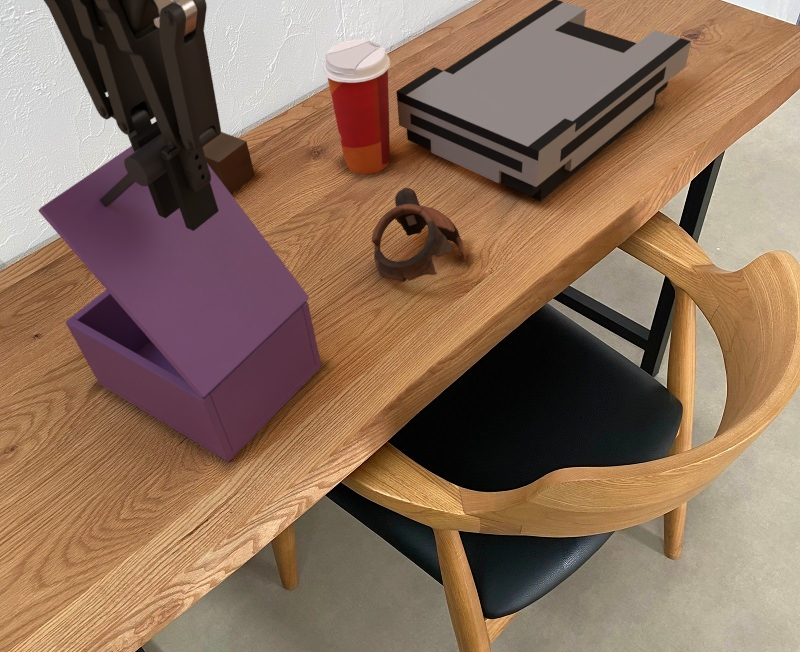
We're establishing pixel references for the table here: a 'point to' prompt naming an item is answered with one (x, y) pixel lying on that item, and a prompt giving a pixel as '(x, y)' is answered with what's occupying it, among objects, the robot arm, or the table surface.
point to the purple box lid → (177, 266)
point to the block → (229, 161)
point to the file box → (174, 398)
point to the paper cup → (360, 102)
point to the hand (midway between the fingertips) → (188, 212)
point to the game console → (539, 98)
